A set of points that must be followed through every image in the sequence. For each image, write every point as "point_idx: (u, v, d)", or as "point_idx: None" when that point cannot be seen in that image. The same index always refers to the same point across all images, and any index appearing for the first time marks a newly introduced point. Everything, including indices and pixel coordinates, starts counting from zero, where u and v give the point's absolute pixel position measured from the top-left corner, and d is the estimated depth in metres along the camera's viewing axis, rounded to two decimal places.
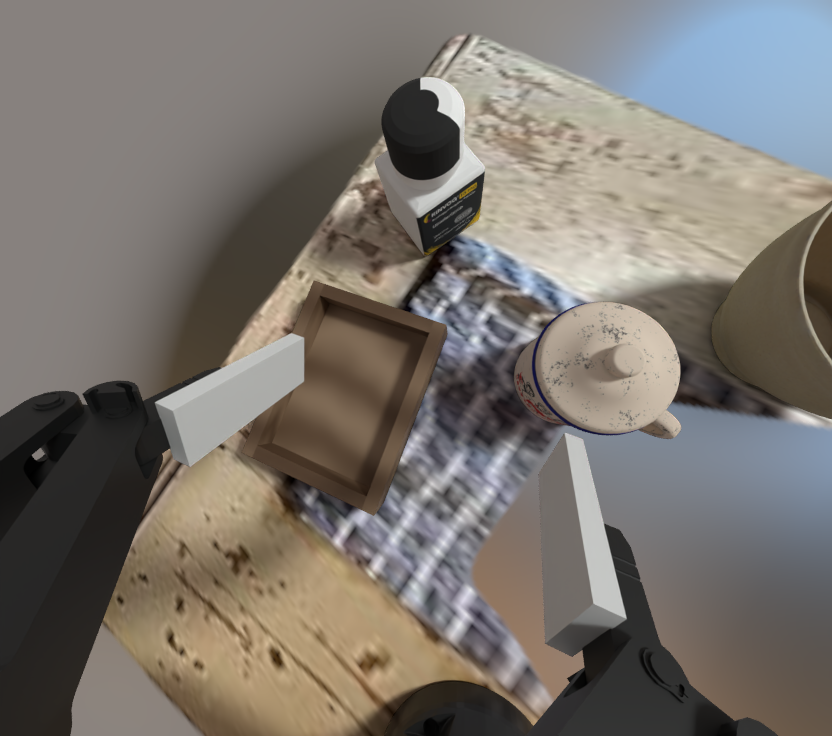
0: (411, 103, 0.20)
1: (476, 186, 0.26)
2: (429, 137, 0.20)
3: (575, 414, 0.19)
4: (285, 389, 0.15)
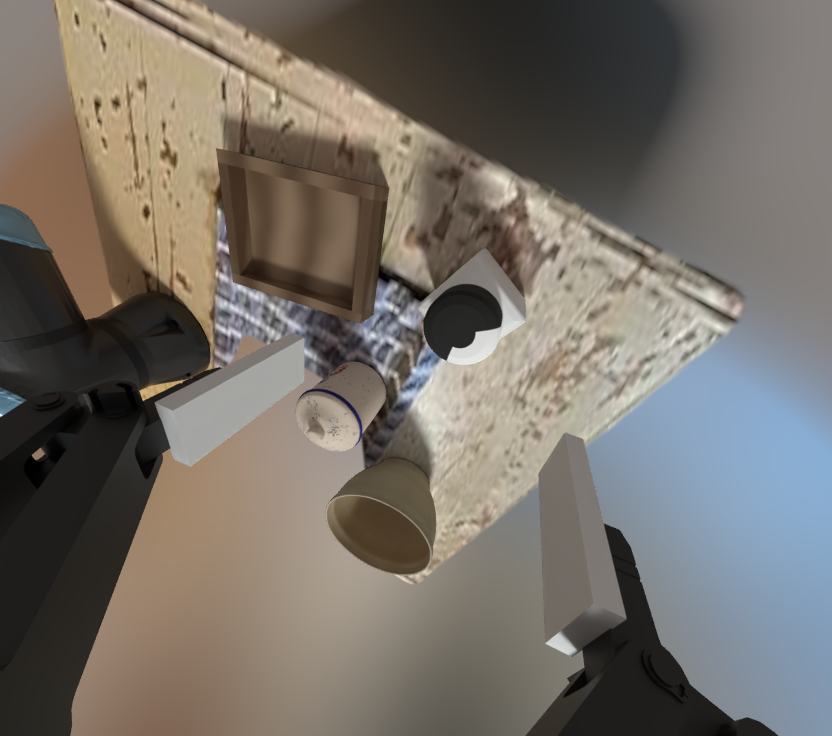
0: (460, 324, 0.22)
1: None
2: (431, 339, 0.23)
3: (297, 408, 0.36)
4: (284, 389, 0.15)
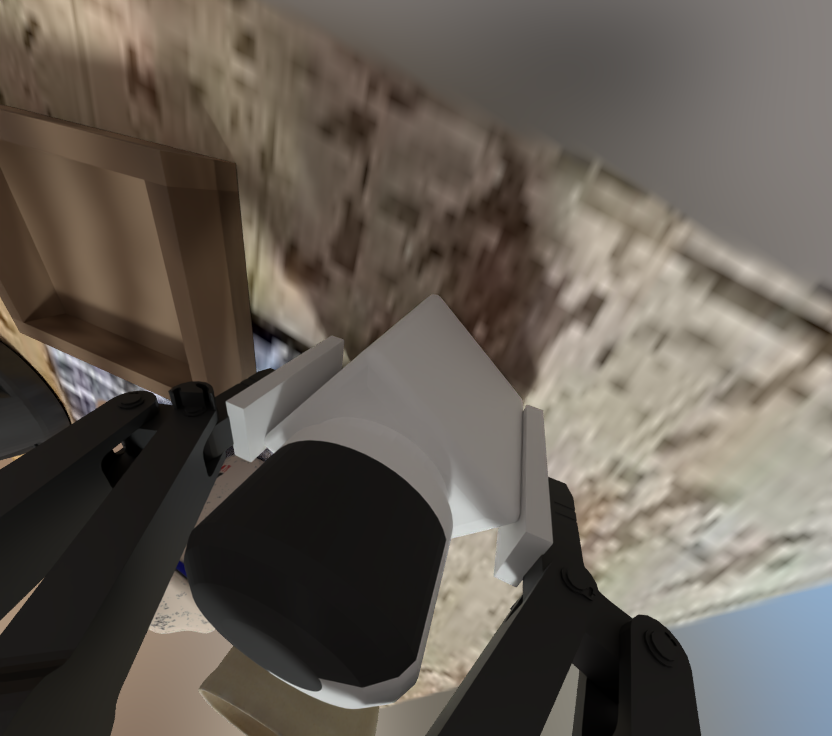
0: (266, 644, 0.06)
1: None
2: None
3: None
4: None
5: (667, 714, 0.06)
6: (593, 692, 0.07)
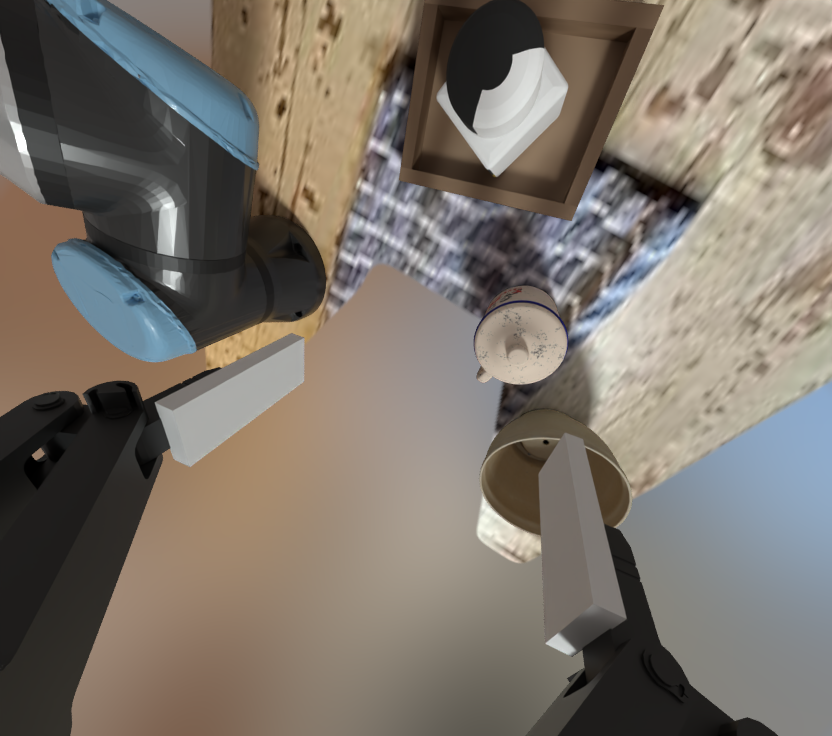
0: (494, 47, 0.18)
1: None
2: (455, 89, 0.19)
3: (484, 327, 0.29)
4: (284, 389, 0.15)
5: None
6: None
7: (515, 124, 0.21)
